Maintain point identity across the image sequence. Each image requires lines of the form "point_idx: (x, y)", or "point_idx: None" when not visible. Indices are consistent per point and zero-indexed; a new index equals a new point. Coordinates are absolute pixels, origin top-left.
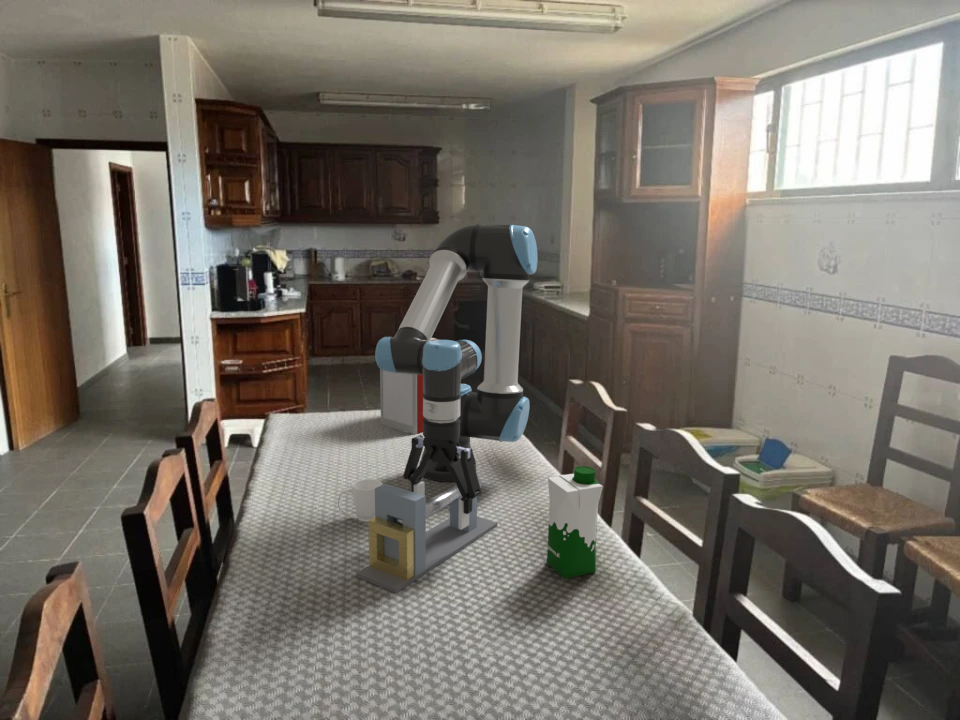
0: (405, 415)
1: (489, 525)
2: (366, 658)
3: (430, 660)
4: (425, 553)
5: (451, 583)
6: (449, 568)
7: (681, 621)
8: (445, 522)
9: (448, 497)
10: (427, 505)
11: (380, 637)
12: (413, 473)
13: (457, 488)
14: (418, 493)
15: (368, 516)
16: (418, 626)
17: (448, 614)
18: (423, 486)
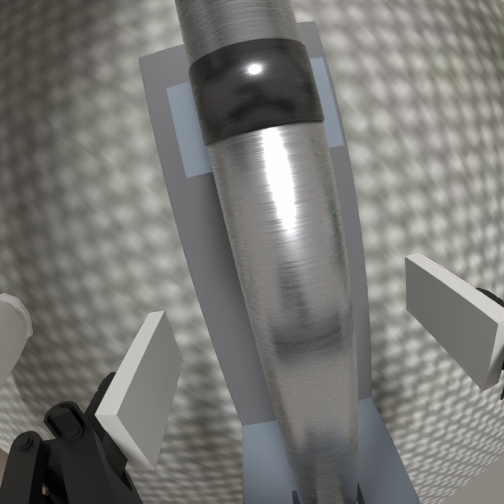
0: None
1: (312, 54)
2: (419, 491)
3: (478, 448)
4: (385, 427)
5: (434, 365)
6: (397, 336)
7: None
8: (173, 164)
9: (354, 354)
10: (347, 477)
11: (413, 480)
12: (51, 469)
13: (318, 227)
14: (158, 420)
15: (26, 340)
16: (443, 446)
17: (468, 407)
18: (129, 403)
